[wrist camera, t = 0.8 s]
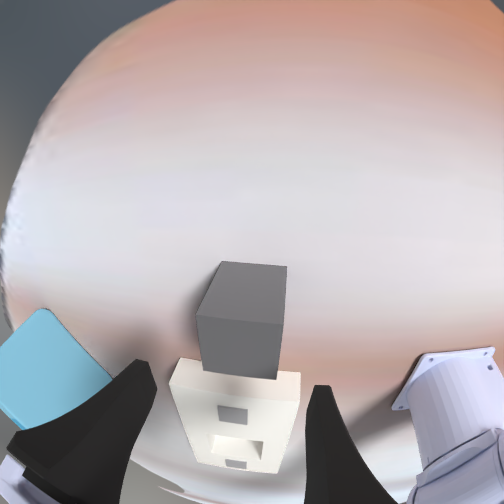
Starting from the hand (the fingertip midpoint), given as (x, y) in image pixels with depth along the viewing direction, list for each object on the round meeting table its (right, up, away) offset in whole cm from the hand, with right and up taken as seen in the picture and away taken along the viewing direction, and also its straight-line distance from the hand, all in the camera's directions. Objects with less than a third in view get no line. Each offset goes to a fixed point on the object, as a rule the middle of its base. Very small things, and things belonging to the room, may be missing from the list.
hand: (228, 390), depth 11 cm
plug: (+1, +3, +7) cm, 8 cm away
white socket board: (0, -11, +14) cm, 18 cm away
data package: (-19, -5, +14) cm, 24 cm away
